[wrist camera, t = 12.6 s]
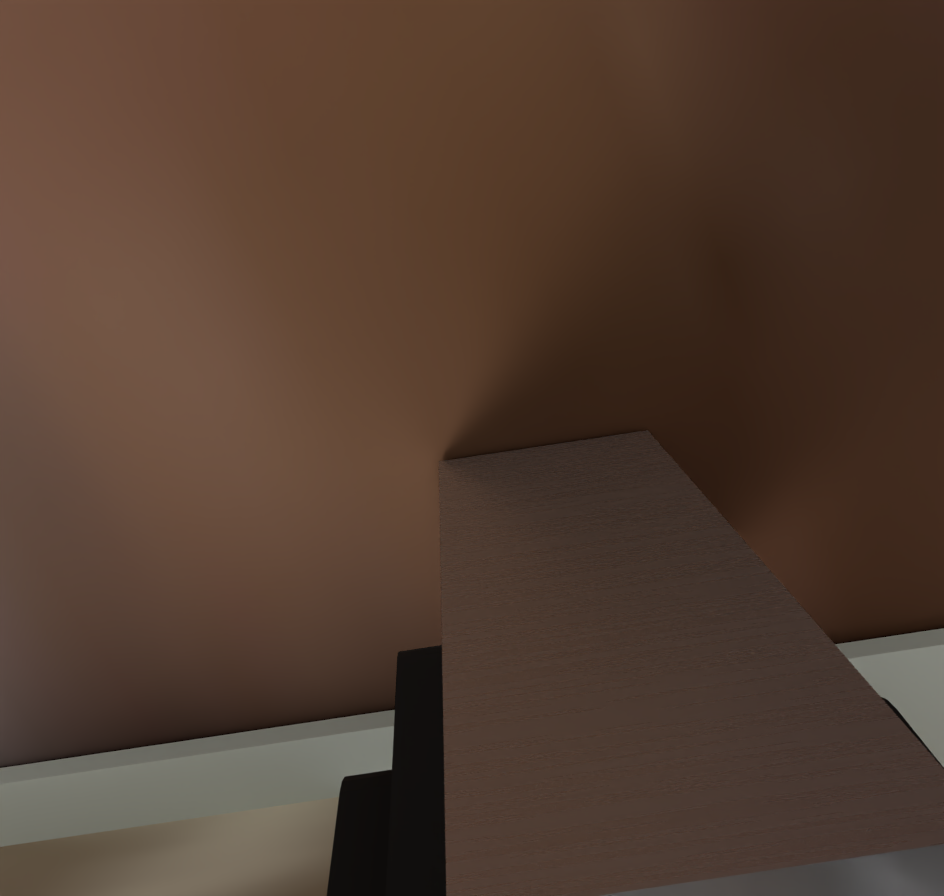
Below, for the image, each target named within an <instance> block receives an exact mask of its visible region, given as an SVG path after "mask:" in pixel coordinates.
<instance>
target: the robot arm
mask: <svg viewBox="0 0 944 896" xmlns="http://www.w3.org/2000/svg"><path fill="white" fill-rule="evenodd" d="M881 698H882V699H883V700H884V701H885V702H886V704H887V705H888V706H889V707H890V708H891V709H892V710H893V712H894V713H895V714H896V715H897V716H898V717H899V718H900V720H901V721H902V722H903V723H904V724H905V725H906V726H907V728H908V729H909V730H910V731H911V732H912V733H913V734H914V736H915V737H916V738H917V739H918V740H919V741H920V742H921V744H922V745H923V746H924V747H925V748H926V749H927V750H928V752H929V753H930V754H931V755H932V756H933V757H934V758H935V760H936V761H937V762H938V763H939V764H940V765H941V763H940V762H939V761H938V760H937V758H936V757H935V756H934V755H933V753H932V752H931V751H930V750H929V749H928V747H927V746H926V745H925V744H924V742H923V741H922V740H921V739H920V737H919V736H918V735H917V734H916V732H915V731H914V730H913V729H912V727H911V726H910V725H909V724H908V722H907V721H906V720H905V719H904V717H903V716H902V715H901V714H900V712H899V711H898V710H897V709H896V708H895V707H894V706H893V705H892V704H891V703H890V702H889V701H888V700H887V699H885V698H883V697H881ZM941 767H942V768H943V769H944V767H943V766H942V765H941ZM327 896H446V847H445V789H444V732H443V675H442V645H440V646H433V647H427V648H420V649H413V650H407V651H400V652H398V657H397V676H396V696H395V716H394V737H393V757H392V770H385V771H379V772H372V773H365V774H359V775H352V776H345V777H344V779H343V780H342V783H341V788H340V793H339V801H338V809H337V817H336V824H335V832H334V840H333V848H332V856H331V864H330V872H329V880H328V888H327Z"/></svg>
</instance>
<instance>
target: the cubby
mask: <svg viewBox="0 0 944 896" xmlns="http://www.w3.org/2000/svg"><path fill="white" fill-rule="evenodd" d="M338 801H339V797H335V798H328V799H321V800H314V801H308V802H301V803H294V804H287V805H281V806H274V807H267V808H260V809H254V810H247V811H240V812H233V813H226V814H220V815H213V816H206V817H199V818H193V819H186V820H179V821H172V822H165V823H159V824H152V825H145V826H138V827H132V828H125V829H118V830H111V831H104V832H98V833H91V834H84V835H77V836H71V837H64V838H57V839H50V840H44V841H37V842H30V843H23V844H16V845H10V846H3V847H0V896H327V888H328V880H329V872H330V864H331V856H332V848H333V840H334V832H335V824H336V817H337V809H338Z"/></svg>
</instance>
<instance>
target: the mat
mask: <svg viewBox="0 0 944 896" xmlns="http://www.w3.org/2000/svg"><path fill="white" fill-rule="evenodd" d="M835 645H836V646H837V647H838V649H839V650H840V651H841V652H842V653H843V654H844V655H845V657H846V658H847V659H848V660H849V661H850V662H851V663H852V665H853V666H854V667H855V668H856V669H857V670H858V672H859V673H860V674H861V675H862V676H863V677H864V678H865V680H866V681H867V682H868V683H869V684H870V685H871V686H872V688H873V689H874V690H875V691H876V692H877V693H878V694H879V696H880V697H883V698H885V699H887V700H888V701H889V702H890V703H891V704H892V705H893V706H894V707H895V708H896V709H897V710H898V711H899V712H900V714H901V715H902V716H903V717H904V719H905V720H906V721H907V722H908V724H909V725H910V726H911V727H912V729H913V730H914V731H915V732H916V734H917V735H918V736H919V737H920V739H921V740H922V741H923V742H924V744H925V745H926V746H927V747H928V749H929V750H930V751H931V752H932V753H933V755H934V756H935V757H936V758H937V760H938V761H939V762H940V763H941V765H942V766H943V767H944V628H942V629H936V630H929V631H922V632H915V633H909V634H902V635H895V636H888V637H882V638H875V639H868V640H861V641H855V642H848V643H841V644H835ZM394 716H395V710H389V711H382V712H375V713H369V714H362V715H355V716H348V717H342V718H335V719H328V720H321V721H315V722H308V723H301V724H294V725H288V726H281V727H274V728H267V729H261V730H254V731H247V732H240V733H234V734H227V735H220V736H213V737H207V738H200V739H193V740H186V741H180V742H173V743H166V744H159V745H153V746H146V747H139V748H132V749H126V750H119V751H112V752H105V753H99V754H92V755H85V756H78V757H72V758H65V759H58V760H51V761H45V762H38V763H31V764H24V765H18V766H11V767H4V768H0V847H3V846H10V845H16V844H23V843H30V842H37V841H44V840H50V839H57V838H64V837H71V836H77V835H84V834H91V833H98V832H104V831H111V830H118V829H125V828H132V827H138V826H145V825H152V824H159V823H165V822H172V821H179V820H186V819H193V818H199V817H206V816H213V815H220V814H226V813H233V812H240V811H247V810H254V809H260V808H267V807H274V806H281V805H287V804H294V803H301V802H308V801H314V800H321V799H328V798H335V797H339V793H340V788H341V783H342V780H343V779H344V777H345V776H352V775H359V774H365V773H372V772H379V771H385V770H392V757H393V737H394Z"/></svg>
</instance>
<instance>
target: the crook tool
mask: <svg viewBox="0 0 944 896" xmlns="http://www.w3.org/2000/svg"><path fill="white" fill-rule="evenodd" d="M439 503H440V560H441V617H442V675H443V732H444V789H445V847H446V896H944V769H943V768H942V767H941V765H940V764H939V763H938V762H937V761H936V760H935V758H934V757H933V756H932V755H931V754H930V753H929V752H928V750H927V749H926V748H925V747H924V746H923V745H922V744H921V742H920V741H919V740H918V739H917V738H916V737H915V736H914V734H913V733H912V732H911V731H910V730H909V729H908V728H907V726H906V725H905V724H904V723H903V722H902V721H901V720H900V718H899V717H898V716H897V715H896V714H895V713H894V712H893V710H892V709H891V708H890V707H889V706H888V705H887V704H886V702H885V701H884V700H883V699H882V698H881V697H880V696H879V694H878V693H877V692H876V691H875V690H874V689H873V688H872V686H871V685H870V684H869V683H868V682H867V681H866V680H865V678H864V677H863V676H862V675H861V674H860V673H859V672H858V670H857V669H856V668H855V667H854V666H853V665H852V663H851V662H850V661H849V660H848V659H847V658H846V657H845V655H844V654H843V653H842V652H841V651H840V650H839V649H838V647H837V646H836V645H835V644H834V643H833V642H832V641H831V639H830V638H829V637H828V636H827V635H826V634H825V633H824V631H823V630H822V629H821V628H820V627H819V626H818V625H817V623H816V622H815V621H814V620H813V619H812V618H811V617H810V615H809V614H808V613H807V612H806V611H805V610H804V609H803V607H802V606H801V605H800V604H799V603H798V602H797V601H796V599H795V598H794V597H793V596H792V595H791V594H790V593H789V591H788V590H787V589H786V588H785V587H784V586H783V585H782V583H781V582H780V581H779V580H778V579H777V578H776V577H775V575H774V574H773V573H772V572H771V571H770V570H769V568H768V567H767V566H766V565H765V564H764V563H763V562H762V560H761V559H760V558H759V557H758V556H757V555H756V554H755V552H754V551H753V550H752V549H751V548H750V547H749V546H748V544H747V543H746V542H745V541H744V540H743V539H742V538H741V536H740V535H739V534H738V533H737V532H736V531H735V530H734V528H733V527H732V526H731V525H730V524H729V523H728V522H727V520H726V519H725V518H724V517H723V516H722V515H721V514H720V512H719V511H718V510H717V509H716V508H715V507H714V506H713V504H712V503H711V502H710V501H709V500H708V499H707V498H706V496H705V495H704V494H703V493H702V492H701V491H700V490H699V488H698V487H697V486H696V485H695V484H694V483H693V482H692V480H691V479H690V478H689V477H688V476H687V475H686V473H685V472H684V471H683V470H682V469H681V468H680V467H679V465H678V464H677V463H676V462H675V461H674V460H673V459H672V457H671V456H670V455H669V454H668V453H667V452H666V451H665V449H664V448H663V447H662V446H661V445H660V444H659V443H658V441H657V440H656V439H655V438H654V437H653V436H652V435H651V433H650V432H649V431H648V430H646V431H639V432H633V433H626V434H619V435H613V436H606V437H599V438H593V439H586V440H579V441H573V442H566V443H559V444H553V445H546V446H539V447H533V448H526V449H519V450H513V451H506V452H499V453H493V454H486V455H479V456H472V457H466V458H459V459H452V460H446V461H439Z"/></svg>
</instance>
